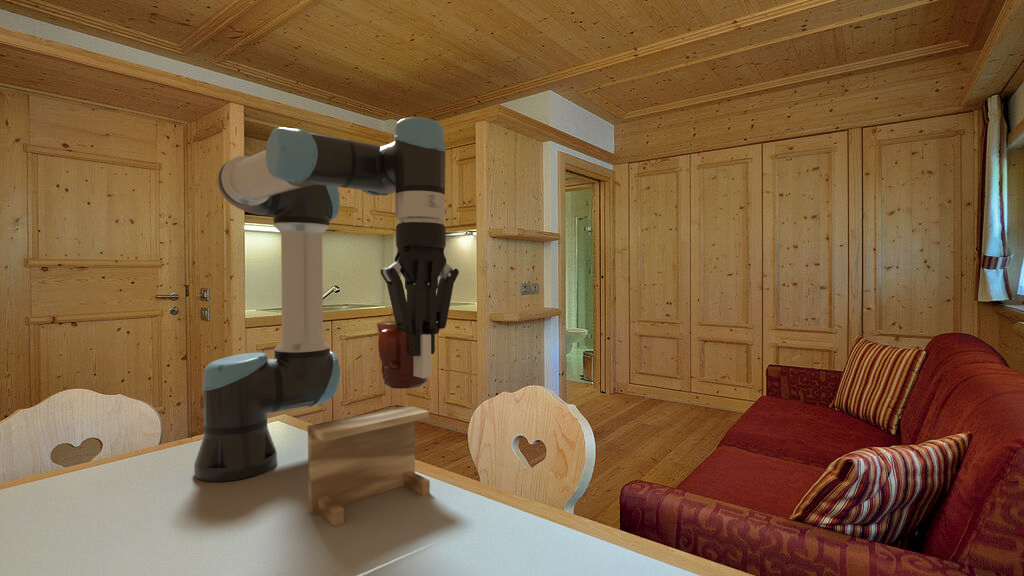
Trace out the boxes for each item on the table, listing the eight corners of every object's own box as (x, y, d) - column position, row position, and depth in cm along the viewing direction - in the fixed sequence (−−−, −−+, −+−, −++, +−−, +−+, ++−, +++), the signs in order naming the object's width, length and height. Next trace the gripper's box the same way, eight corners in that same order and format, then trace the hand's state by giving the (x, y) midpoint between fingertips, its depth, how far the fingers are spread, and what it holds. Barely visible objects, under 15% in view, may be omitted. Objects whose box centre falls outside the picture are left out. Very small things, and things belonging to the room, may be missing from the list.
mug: (393, 379, 88) (392, 320, 88) (441, 381, 86) (439, 319, 86) (356, 394, 76) (354, 325, 76) (410, 396, 74) (408, 325, 74)
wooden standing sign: (308, 512, 87) (307, 425, 86) (410, 480, 100) (410, 405, 100) (328, 528, 81) (327, 436, 81) (434, 492, 94) (433, 412, 94)
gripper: (396, 217, 71) (397, 386, 72) (469, 223, 80) (470, 374, 80) (370, 222, 77) (371, 378, 77) (441, 227, 86) (442, 368, 86)
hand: (422, 376), depth 79 cm, fingers closed
